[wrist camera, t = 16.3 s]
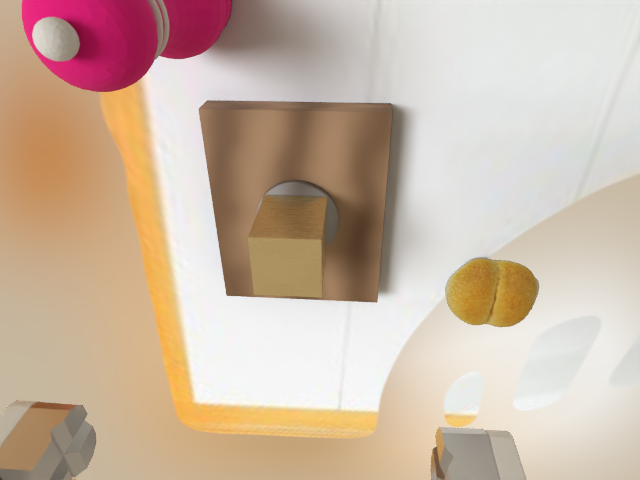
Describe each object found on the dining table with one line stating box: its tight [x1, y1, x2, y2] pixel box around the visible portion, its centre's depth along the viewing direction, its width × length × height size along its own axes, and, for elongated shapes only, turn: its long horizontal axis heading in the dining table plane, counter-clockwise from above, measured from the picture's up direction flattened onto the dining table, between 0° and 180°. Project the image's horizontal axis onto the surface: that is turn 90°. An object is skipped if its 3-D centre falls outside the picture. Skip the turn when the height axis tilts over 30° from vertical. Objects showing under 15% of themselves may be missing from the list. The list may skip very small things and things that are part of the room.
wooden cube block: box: [248, 195, 327, 298], centre depth 39 cm, size 6×6×7 cm
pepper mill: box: [22, 0, 232, 92], centre depth 27 cm, size 7×7×20 cm
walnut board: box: [199, 101, 393, 302], centre depth 41 cm, size 16×20×10 cm
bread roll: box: [445, 258, 539, 327], centre depth 47 cm, size 8×9×4 cm
